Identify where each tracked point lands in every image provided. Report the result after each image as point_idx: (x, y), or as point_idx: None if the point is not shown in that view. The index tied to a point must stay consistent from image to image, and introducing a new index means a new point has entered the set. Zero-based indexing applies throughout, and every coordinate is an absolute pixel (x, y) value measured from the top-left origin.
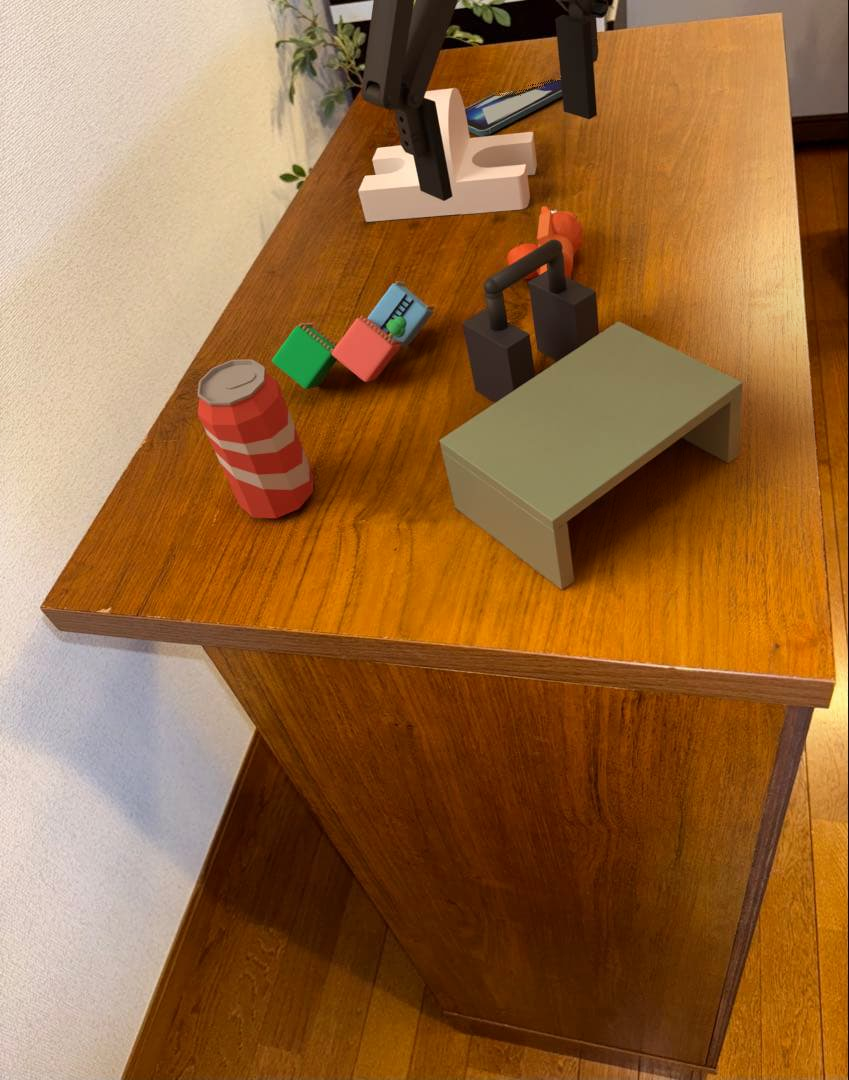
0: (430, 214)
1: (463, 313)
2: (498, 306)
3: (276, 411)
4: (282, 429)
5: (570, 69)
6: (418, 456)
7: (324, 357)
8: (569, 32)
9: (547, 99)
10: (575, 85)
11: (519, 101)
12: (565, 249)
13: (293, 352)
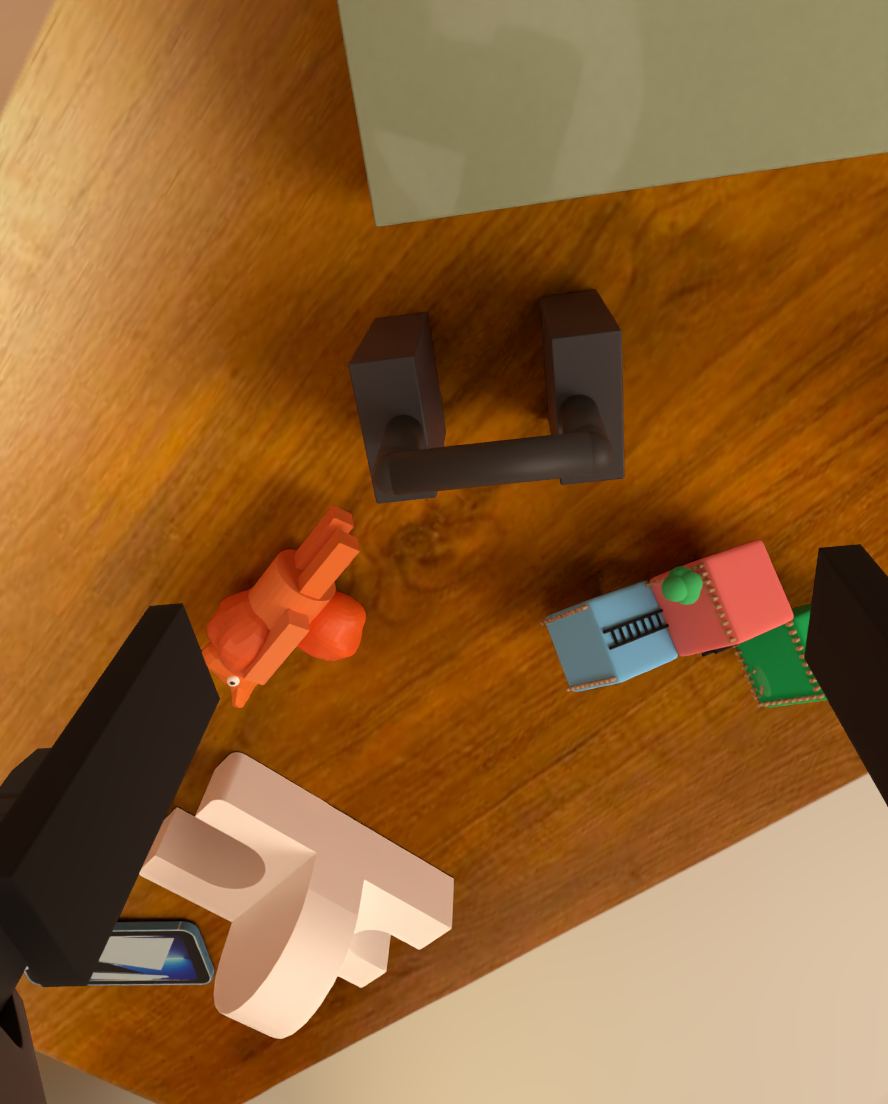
0: (368, 831)
1: (479, 604)
2: (591, 416)
3: None
4: None
5: (146, 773)
6: (798, 328)
7: (806, 619)
8: (75, 891)
9: None
10: (161, 718)
11: (104, 949)
12: (274, 584)
13: None
